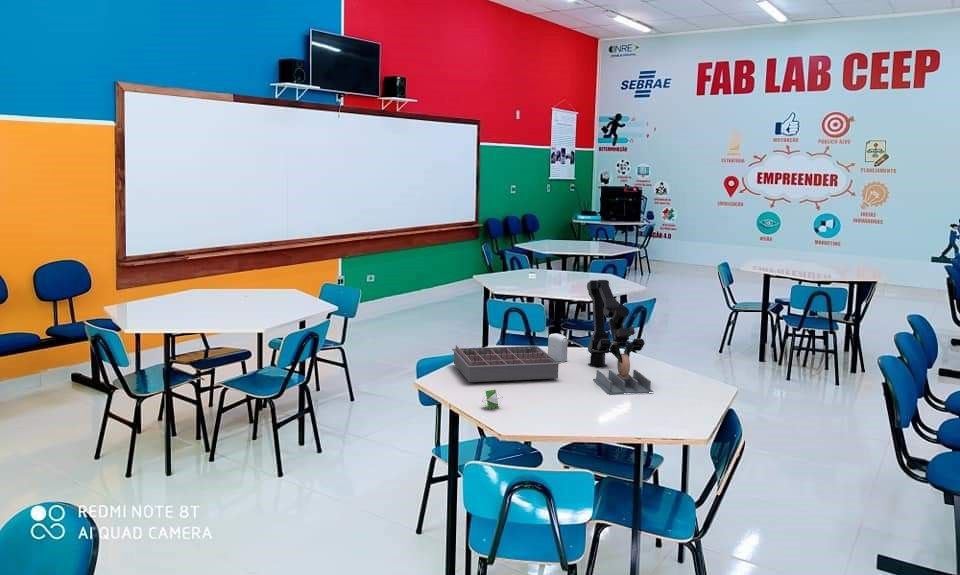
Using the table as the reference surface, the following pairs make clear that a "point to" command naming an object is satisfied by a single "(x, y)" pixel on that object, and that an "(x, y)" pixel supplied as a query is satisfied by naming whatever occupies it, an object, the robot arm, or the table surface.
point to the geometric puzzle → (492, 398)
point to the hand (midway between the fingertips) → (624, 362)
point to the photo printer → (558, 347)
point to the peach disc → (624, 367)
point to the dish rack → (623, 383)
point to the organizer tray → (505, 363)
